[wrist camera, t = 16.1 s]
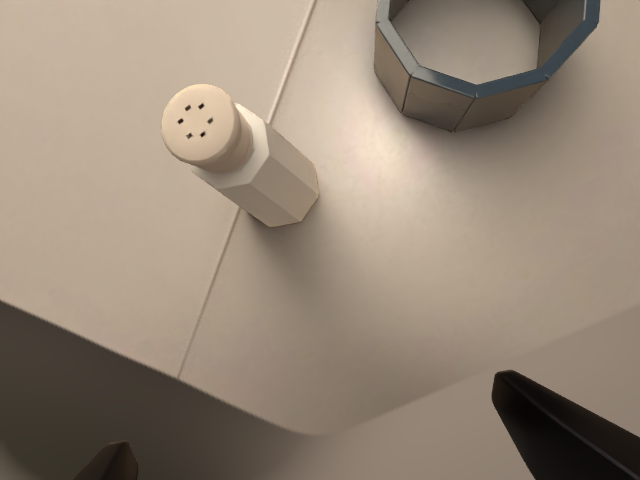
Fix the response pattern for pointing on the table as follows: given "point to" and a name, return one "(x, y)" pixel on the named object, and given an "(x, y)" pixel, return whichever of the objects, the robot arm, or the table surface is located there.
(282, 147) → the salt shaker
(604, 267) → the table surface
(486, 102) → the ring
